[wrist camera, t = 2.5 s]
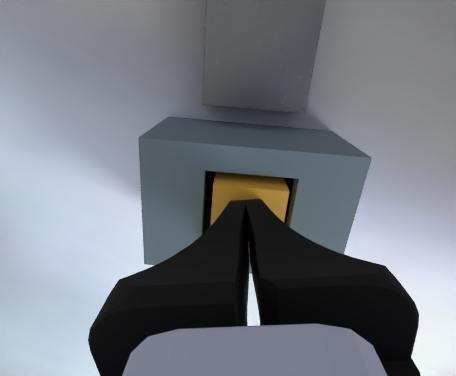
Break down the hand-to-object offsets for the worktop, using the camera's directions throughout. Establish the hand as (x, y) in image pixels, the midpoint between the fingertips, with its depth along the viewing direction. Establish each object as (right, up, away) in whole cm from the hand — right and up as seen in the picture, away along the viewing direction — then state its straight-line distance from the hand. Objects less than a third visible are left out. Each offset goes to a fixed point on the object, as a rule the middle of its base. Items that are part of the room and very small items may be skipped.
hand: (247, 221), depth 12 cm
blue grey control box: (0, +2, +5) cm, 5 cm away
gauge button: (0, +1, +3) cm, 3 cm away
